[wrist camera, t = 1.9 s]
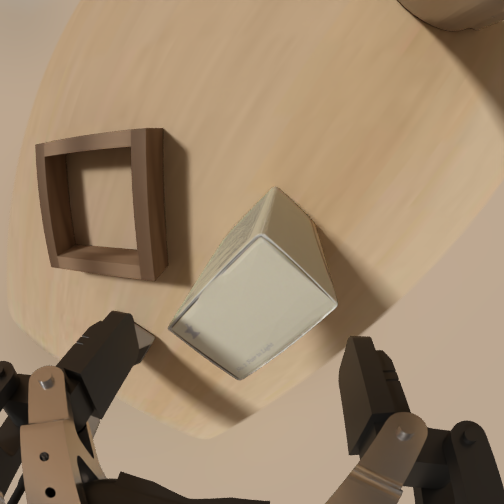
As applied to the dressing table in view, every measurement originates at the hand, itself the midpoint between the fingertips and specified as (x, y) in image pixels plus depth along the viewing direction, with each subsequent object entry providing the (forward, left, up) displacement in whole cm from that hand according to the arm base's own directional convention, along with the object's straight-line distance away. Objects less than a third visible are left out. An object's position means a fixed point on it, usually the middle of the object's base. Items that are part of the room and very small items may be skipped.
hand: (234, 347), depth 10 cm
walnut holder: (+14, -2, -14) cm, 19 cm away
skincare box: (0, 0, -14) cm, 14 cm away
